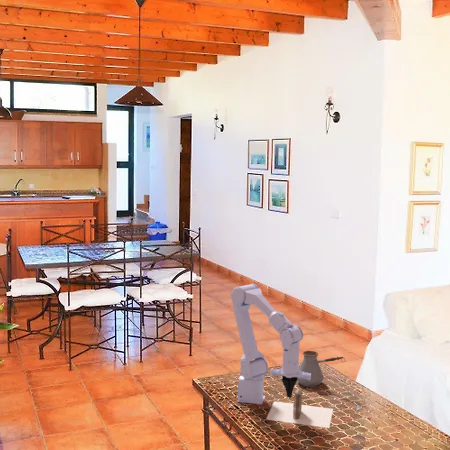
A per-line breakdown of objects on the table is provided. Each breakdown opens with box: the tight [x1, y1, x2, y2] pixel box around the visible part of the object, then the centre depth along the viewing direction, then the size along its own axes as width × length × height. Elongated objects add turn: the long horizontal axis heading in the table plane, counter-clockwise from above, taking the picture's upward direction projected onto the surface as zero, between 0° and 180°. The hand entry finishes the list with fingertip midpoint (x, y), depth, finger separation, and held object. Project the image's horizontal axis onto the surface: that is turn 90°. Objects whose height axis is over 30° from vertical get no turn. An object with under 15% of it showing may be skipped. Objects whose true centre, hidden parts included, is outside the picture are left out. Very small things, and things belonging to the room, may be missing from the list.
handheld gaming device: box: [328, 394, 363, 412], centre depth 223 cm, size 9×1×15 cm
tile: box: [293, 389, 303, 419], centre depth 212 cm, size 2×7×8 cm, turn 165°
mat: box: [265, 400, 334, 429], centre depth 213 cm, size 22×16×1 cm
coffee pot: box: [297, 350, 346, 388], centre depth 239 cm, size 21×12×15 cm, turn 48°
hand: (289, 396), depth 212 cm, fingers closed
